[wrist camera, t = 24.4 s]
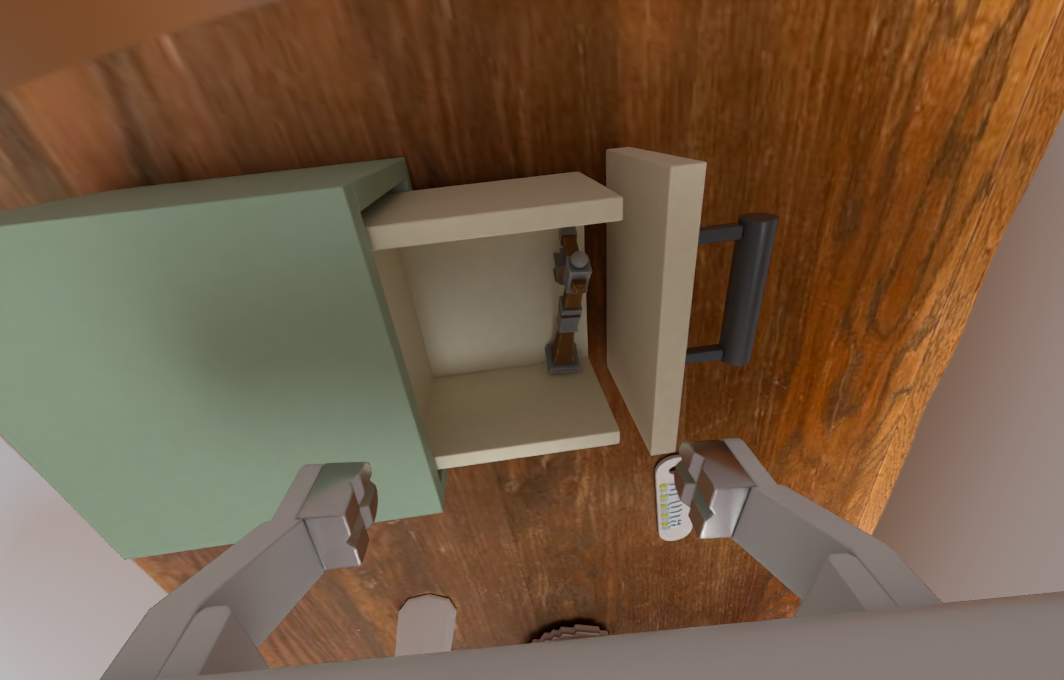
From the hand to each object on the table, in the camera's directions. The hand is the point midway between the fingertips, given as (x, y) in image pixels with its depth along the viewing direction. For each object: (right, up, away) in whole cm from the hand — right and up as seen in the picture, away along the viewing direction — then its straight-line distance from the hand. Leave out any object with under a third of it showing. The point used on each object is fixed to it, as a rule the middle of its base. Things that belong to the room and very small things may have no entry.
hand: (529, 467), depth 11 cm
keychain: (+12, -10, +24) cm, 28 cm away
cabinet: (-12, +5, +12) cm, 18 cm away
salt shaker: (-10, -22, +28) cm, 37 cm away
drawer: (+1, +7, +12) cm, 14 cm away
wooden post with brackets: (+1, +6, +11) cm, 13 cm away
